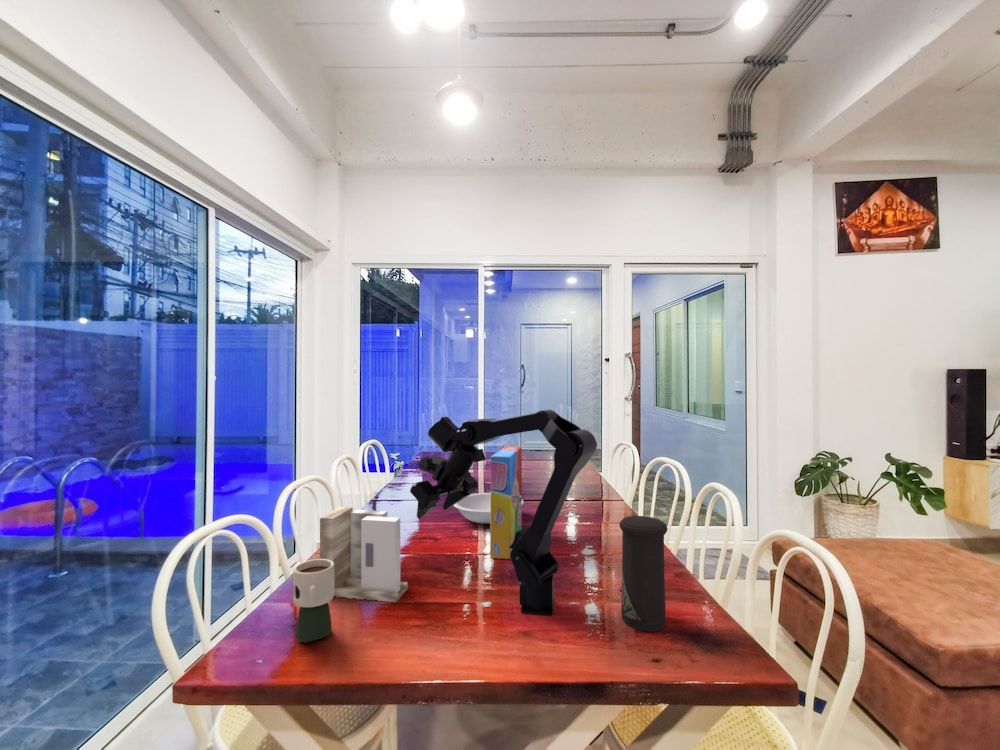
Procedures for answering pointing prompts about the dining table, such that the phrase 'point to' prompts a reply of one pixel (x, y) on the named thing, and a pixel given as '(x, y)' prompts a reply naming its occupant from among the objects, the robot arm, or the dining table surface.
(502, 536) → the game box
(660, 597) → the container
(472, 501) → the soup bowl
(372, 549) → the door
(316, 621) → the character mug
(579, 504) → the dining table surface
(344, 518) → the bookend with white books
